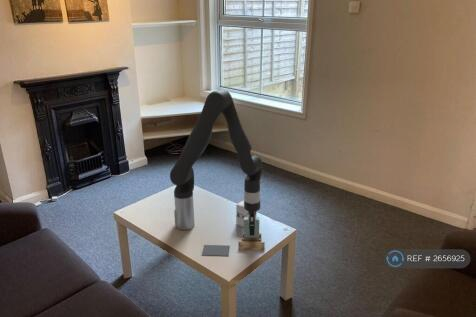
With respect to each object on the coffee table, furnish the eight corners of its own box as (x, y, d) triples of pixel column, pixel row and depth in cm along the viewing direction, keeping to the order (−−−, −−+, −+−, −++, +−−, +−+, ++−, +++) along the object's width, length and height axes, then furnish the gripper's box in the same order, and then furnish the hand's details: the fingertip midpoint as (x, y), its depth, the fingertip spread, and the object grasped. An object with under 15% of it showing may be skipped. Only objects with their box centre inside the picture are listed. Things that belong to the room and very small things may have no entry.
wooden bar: (238, 249, 174) (238, 243, 173) (238, 248, 175) (238, 241, 174) (264, 250, 173) (264, 243, 172) (264, 248, 175) (264, 242, 174)
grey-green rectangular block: (244, 242, 180) (244, 219, 176) (244, 239, 182) (244, 217, 178) (259, 242, 179) (259, 219, 175) (259, 239, 182) (259, 217, 178)
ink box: (245, 217, 201) (245, 197, 197) (253, 220, 199) (253, 200, 195) (235, 224, 195) (235, 204, 191) (243, 227, 192) (243, 206, 188)
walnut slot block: (241, 243, 178) (241, 239, 177) (242, 237, 184) (242, 232, 183) (261, 244, 178) (261, 239, 177) (261, 237, 183) (261, 233, 182)
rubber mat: (201, 255, 170) (201, 254, 170) (204, 245, 177) (204, 244, 177) (228, 256, 169) (228, 255, 169) (229, 246, 177) (229, 245, 176)
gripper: (244, 192, 180) (244, 222, 186) (243, 206, 167) (243, 238, 172) (260, 192, 180) (260, 222, 185) (260, 206, 166) (260, 238, 172)
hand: (252, 230), depth 179 cm, fingers open, 8 cm apart
